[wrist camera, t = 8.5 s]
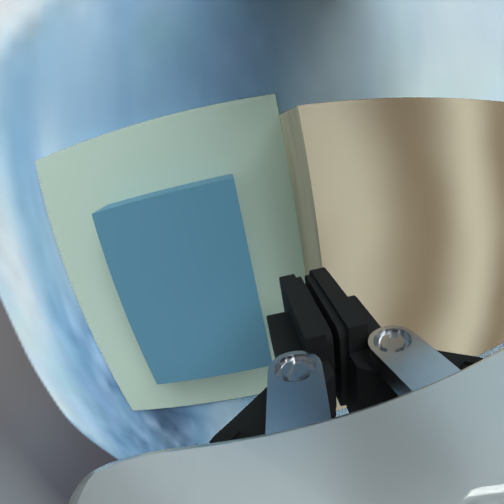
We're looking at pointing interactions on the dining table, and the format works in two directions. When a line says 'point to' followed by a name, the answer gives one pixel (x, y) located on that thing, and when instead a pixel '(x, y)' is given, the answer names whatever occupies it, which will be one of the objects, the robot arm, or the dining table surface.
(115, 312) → the mat
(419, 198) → the beige wood-grain panel
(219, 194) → the blue rectangular block
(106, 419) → the dining table surface
